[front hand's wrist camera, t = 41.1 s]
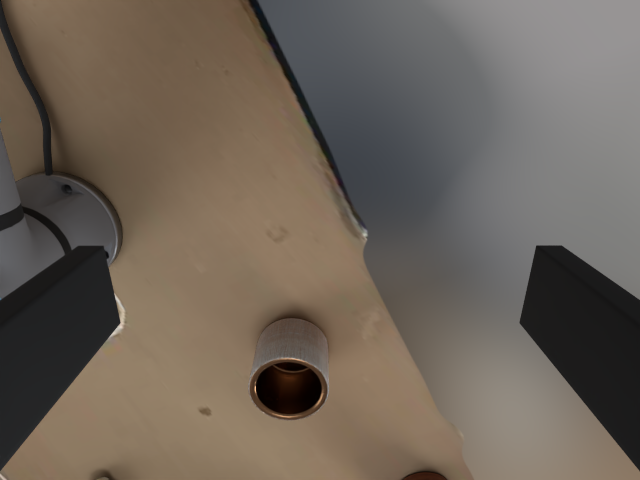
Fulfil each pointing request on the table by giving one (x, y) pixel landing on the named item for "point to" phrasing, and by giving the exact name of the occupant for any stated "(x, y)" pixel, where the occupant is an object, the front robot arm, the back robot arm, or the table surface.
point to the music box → (425, 476)
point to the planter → (290, 370)
